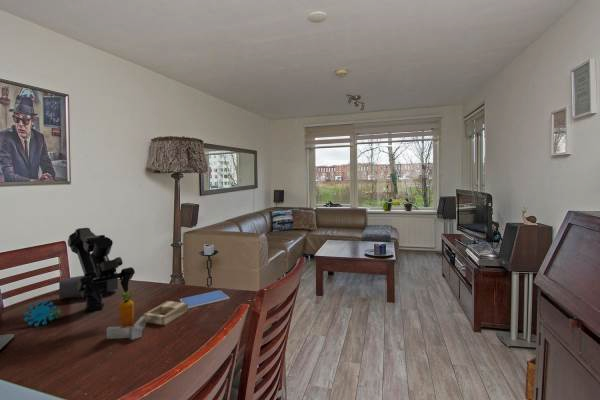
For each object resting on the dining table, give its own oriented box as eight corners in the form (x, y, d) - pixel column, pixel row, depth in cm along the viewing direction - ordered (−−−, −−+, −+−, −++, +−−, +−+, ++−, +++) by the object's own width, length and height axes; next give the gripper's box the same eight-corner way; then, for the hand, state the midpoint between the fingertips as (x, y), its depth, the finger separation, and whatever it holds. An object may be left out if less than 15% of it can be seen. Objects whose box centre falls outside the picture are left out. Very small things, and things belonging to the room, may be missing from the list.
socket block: (143, 321, 124) (143, 314, 123) (167, 307, 137) (167, 300, 137) (165, 325, 121) (164, 317, 121) (187, 310, 134) (187, 303, 134)
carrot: (127, 327, 119) (125, 288, 117) (138, 329, 117) (136, 289, 116) (116, 334, 114) (114, 293, 113) (127, 336, 112) (125, 294, 111)
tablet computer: (187, 310, 136) (187, 307, 136) (179, 301, 146) (178, 298, 146) (230, 300, 147) (230, 297, 147) (219, 292, 157) (219, 289, 157)
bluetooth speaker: (117, 288, 162) (117, 269, 161) (118, 294, 154) (117, 273, 153) (62, 297, 150) (60, 276, 150) (59, 303, 142) (58, 281, 142)
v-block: (105, 337, 111) (105, 328, 111) (144, 324, 122) (144, 315, 121) (116, 346, 106) (115, 335, 105) (156, 331, 116) (155, 321, 116)
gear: (18, 325, 117) (29, 299, 124) (22, 331, 121) (32, 306, 128) (55, 324, 121) (63, 299, 128) (57, 330, 125) (65, 306, 132)
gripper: (78, 256, 115) (91, 293, 109) (132, 247, 130) (145, 279, 124) (72, 273, 121) (83, 309, 115) (124, 263, 135) (137, 294, 129)
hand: (114, 297), depth 121 cm, fingers open, 9 cm apart
